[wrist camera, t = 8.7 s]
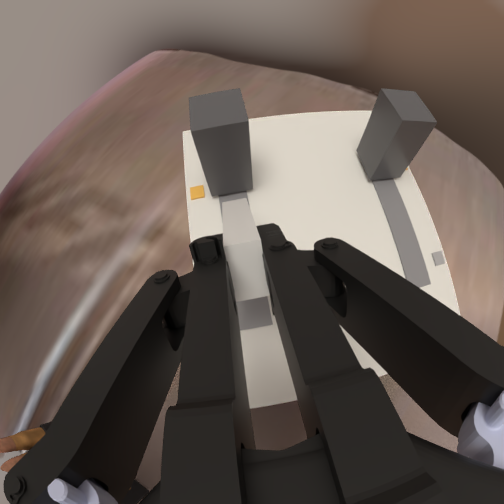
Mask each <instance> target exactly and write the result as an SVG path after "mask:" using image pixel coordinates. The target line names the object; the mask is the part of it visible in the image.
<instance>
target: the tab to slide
mask: <svg viewBox="0 0 504 504" xmlns="http://www.w3.org/2000/svg"><path fill="white" fill-rule="evenodd" d="M189 112H190V129H191V134H192V137H193V141H194V144H195V147H196V150H197V153H198V156H199V159H200V163H201V166H202V169H203V172H204V175H205V178H206V181H207V184H208V187H209V190H210V193H211V196H212V197H213V196H218V195H223V194H229V193H234V192H240V191H245V190H251V189H253V179H252V163H251V148H250V133H249V120H248V117H247V113H246V109H245V105H244V102H243V98H242V94H241V90H240V88H239V89H232V90H226V91H220V92H214V93H209V94H204V95H199V96H194V97H190V98H189Z"/></svg>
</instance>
